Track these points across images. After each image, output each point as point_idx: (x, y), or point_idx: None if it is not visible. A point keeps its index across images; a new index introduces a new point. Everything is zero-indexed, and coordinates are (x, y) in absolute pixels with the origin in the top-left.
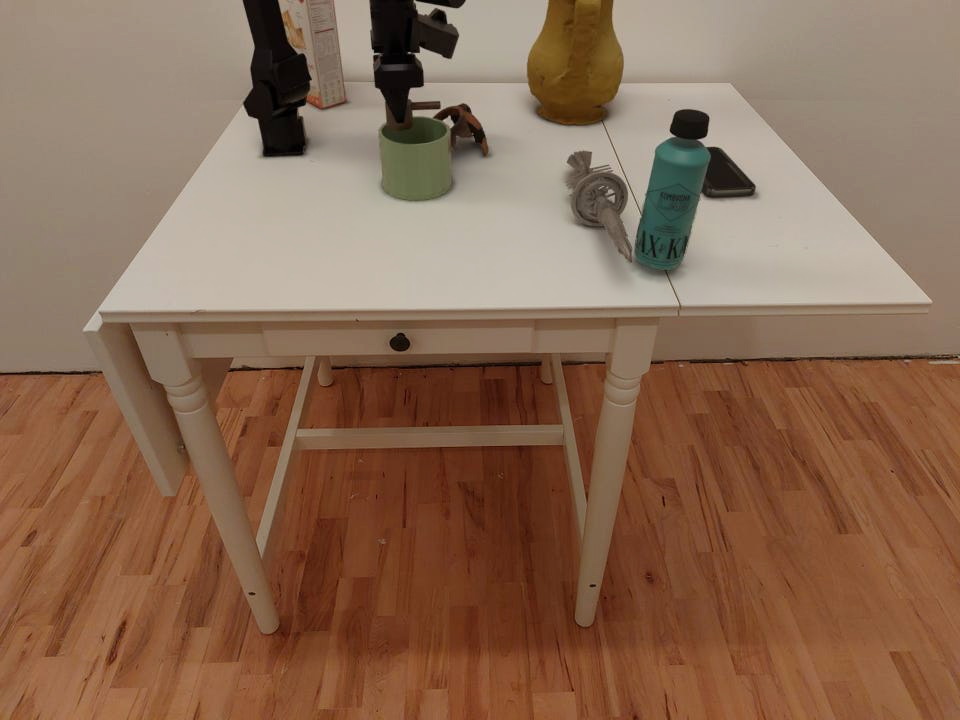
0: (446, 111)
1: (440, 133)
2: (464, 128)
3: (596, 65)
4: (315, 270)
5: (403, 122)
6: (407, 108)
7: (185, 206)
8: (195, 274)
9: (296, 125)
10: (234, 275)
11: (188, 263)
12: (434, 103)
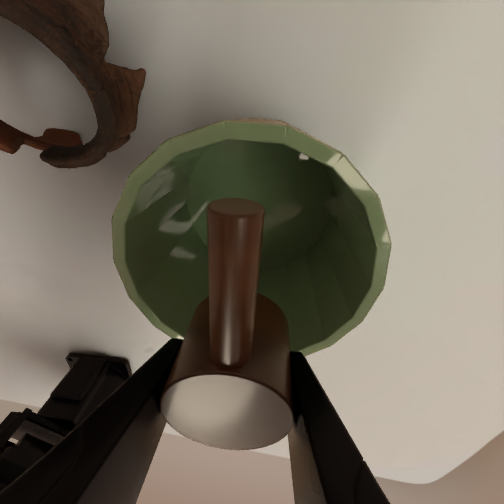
0: None
1: (190, 151)
2: (60, 3)
3: None
4: (477, 375)
5: (302, 354)
6: (286, 385)
7: (259, 449)
8: (408, 450)
9: (87, 400)
10: (431, 431)
11: (382, 453)
12: (250, 257)
